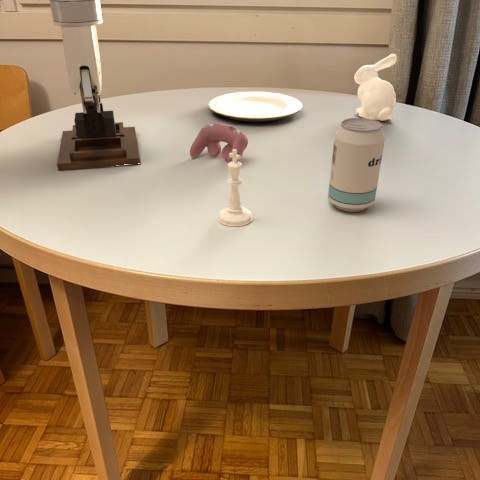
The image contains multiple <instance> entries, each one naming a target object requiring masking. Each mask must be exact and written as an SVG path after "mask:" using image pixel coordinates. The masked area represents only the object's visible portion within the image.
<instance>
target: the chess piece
mask: <svg viewBox="0 0 480 480" xmlns="http://www.w3.org/2000/svg"><path fill="white" fill-rule="evenodd" d="M229 157H232V158H233V162H229V163H228V162H227V166H226V167H227V169H228V172H229V174H230V178H228V179H227V181H226V183H227V184H228V185H231V188H230V195H229V197H230V198H229V204H228V206H227V207H224V208H223V209H220V211H218V214H217V221H218V222H219V224H222V225H223V226H227V227H243V226H246V225H248V224H250V223H251V222H252V221H253V216H252V211H250V210H249V209H247V208H245V207H243V205H241V197H240V189H239V187H240V186H239V185H242V184H243V183H244V182H243V179H242V178H241V177H240V174H241V171H242V169H243V163H242V162H240V161H239V162H237V159H238V160H239V159H240V160H241V158H242V157H241V156H240V155H237V150H236V149H234V150H232V153H229Z"/></svg>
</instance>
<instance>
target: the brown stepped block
mask: <svg viewBox="0 0 480 480" xmlns="http://www.w3.org/2000/svg"><path fill="white" fill-rule="evenodd" d="M115 128H116V135H115V136H105V137H93V138H88V137H86V138H78V137H77V132H76V127H75V124H72V130H62V133H61V139H60V144H59V145H60V146H59V148H58V149H59V151H58V156H57V162H56V167H57V171H72V170H84V169H85V170H87V169H98V168H109V167H108V166H114V167H117V166H116V165H124V164H138V163H141V156H140V155H141V154H140V149H139V144H138V137H137V132H136V126H124V122H122V121H121V122H115ZM141 164H142V163H141Z"/></svg>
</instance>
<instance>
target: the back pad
mask: <svg viewBox="0 0 480 480" xmlns="http://www.w3.org/2000/svg"><path fill="white" fill-rule="evenodd" d="M101 112H102V113H103V120H104V126H105V133H106V135H105V136H115V135H116V128H115V123H116V122H115V115H114V110H103V111H101ZM83 113H84V112H83V111H82V112H75V113H74V125H75V127H76V132H77V137H78V138H86V137H87V136H86V130H85V124H84V119H83Z"/></svg>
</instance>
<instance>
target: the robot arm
mask: <svg viewBox="0 0 480 480" xmlns="http://www.w3.org/2000/svg"><path fill="white" fill-rule="evenodd" d="M48 1H49V6H50V12H51V16H52V21H53V25H54V26H57V27H60V28H61V38H62V47H63V52H64V58H65V64H66V70H67V76H68V84H69V89H70V93H71V95H73V96H76V95H77V94H78V93H80V99H81V107H82V112H84V113H83V119H84V124H85V130H86V136H87V137H88V138H93V137H105V135H106V133H105V126H104V120H103V113H102V112H101V111H104V105H103V103H102V101H101V95H100V94H101V93H102V89H103V88H102V87H103V86H102V85H103V83H102V81H103V80H102V79H103V78H102V77H103V76H102V75H103V74H102V64H101V53H100V45H99V39H98V31H97V25H101V24H103V23H104V18H103V11H102V4H101V0H48Z"/></svg>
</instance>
